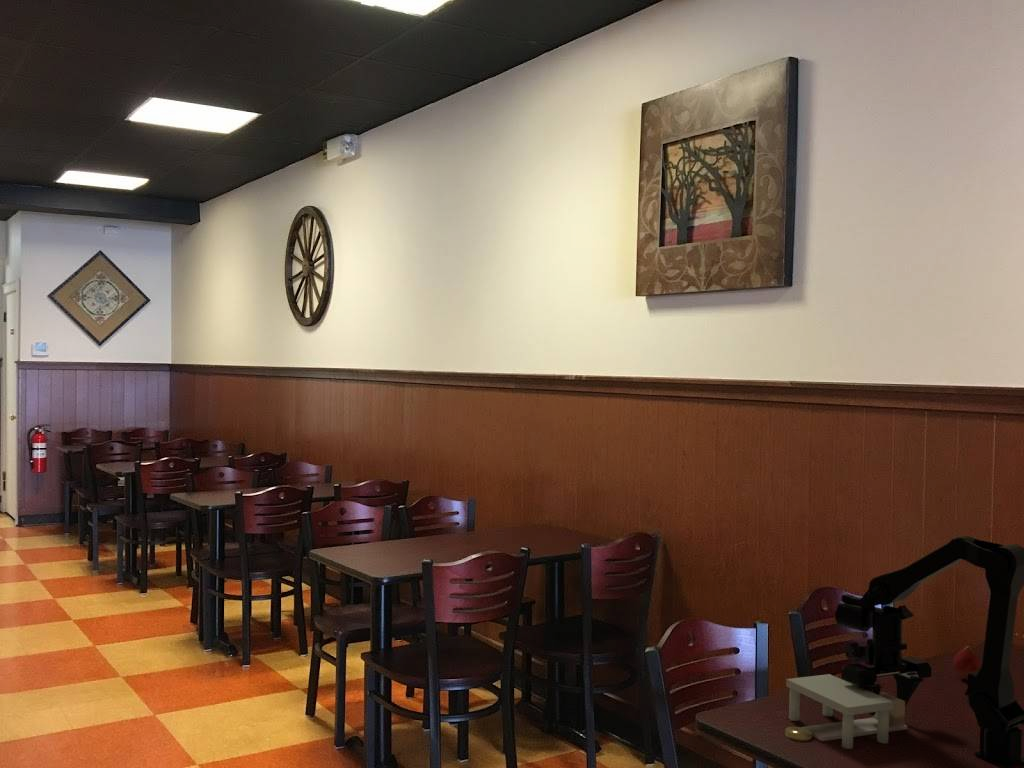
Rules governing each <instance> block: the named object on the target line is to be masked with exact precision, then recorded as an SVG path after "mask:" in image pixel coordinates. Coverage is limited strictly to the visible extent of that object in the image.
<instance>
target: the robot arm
mask: <svg viewBox="0 0 1024 768" xmlns="http://www.w3.org/2000/svg"><path fill="white" fill-rule="evenodd" d="M961 561H965V562H968V563H969V564H971V565H973V566H975V567H978V568H981V569H984V575H985V580H986V583H987V585H988V589H989V602H988V609H987V618H986V625H985V626H986V628H985V633H984V643H983V651H982V659H981V664H980V665H981V667H980V670H978V671H975V672H972V673H969V674H968V680H967V689H966V691H965V692H964V696H967V703H968V706H969V707H970V708H971V709H972V711H973V713H974V715H975V718H976V722H977V724H978V727H979V750H976V751H974V755H975V756H977V757H980V758H982V759H984V760H986V761H988V762H990V763H993V764H995V765H996V766H997V765H998V766H999V767H1003V768H1005V767H1011V766H1017V765H1022V764H1023V765H1024V757H1022V749H1023V748H1022V747H1023V746H1022V745H1023V741H1022V740H1023V730H1022V729H1020V726H1024V709H1023V707H1022V706H1021V704H1020V703H1019V702H1018V700H1016V699H1015V684H1014V680H1013V678H1012V675H1011V672H1010V665H1011V664H1010V662H1011V658H1012V657H1011V656H1012V649H1013V648H1012V646H1013V640H1014V632H1015V631H1014V630H1015V624H1016V617H1017V615H1016V614H1017V607H1018V599H1019V596H1020V595H1019V594H1020V593H1021V591H1022V589H1023V588H1024V547H1023V546H1022V545H1020V544H1017V543H1015V544H1014V543H1012V544H1011V543H1010V544H1007V545H1005V544H1002V543H997V542H993V541H992V542H991V541H987V540H982V539H978V538H975V537H973V536H969V535H963V536H962V535H961V536H957V537H954V538H952V539H950V540H949V542H948V543H945V544H944V545H941V546H940V547H939V548H937V549H935V550H933V551H932V552H930V553H928V554H926V555H924V556H922V558H920V559H918V560H916V561H914V562H912V563H911V564H909V565H907V566H906V567H903V568H900V569H897V570H893V571H890V572H887V573H883V574H881V575H878V576H875V577H872V579H871V580H870V581H869V583H868V584H869V585H868V589H867V591H866V592H865V593H864V594H863V596H862V597H858V596H855V595H854V594H849V593H846V594H842V595H841V599H840V600H841V601H839V603H838V605H837V606H836V607H837V608H836V610H835V612H834V616H835V622H836V624H837V625H838V626H839V627H844V628H848V629H850V630H851V629H852V630H855V631H856V630H857V631H861V632H864V633H866V632H868V631H869V630H870V629H872V638H868V639H867V640H866V645H863V646H862V645H861V646H859V644H858V642H850V643H849V642H848V643H845V650H844V651H845V657H846V659H848V660H852V661H853V663H851V664H845V665H844V666H842V667H841V679H844V680H847V682H849V683H851V684H854V685H858V687H861V688H863V689H865V690H868V691H870V692H872V693H875V694H877V695H879V694H880V692H881V688H882V684H881V685H878V684H877V682H876V681H878V678H879V677H881V678H882V677H887V676H893V678H894V680H895V683H896V698H898V699H901V700H903V701H905V707H907V705H908V703H909V702H910V699H912V696H913V694H914V692H915V691H916V690H917V688H918V687H919V685H920V684H921V683H923V682H924V679H926V678H932V665H930V663H929V662H928V661H925V660H922V659H920V658H917V657H914V656H907V657H906V656H905V657H903V651H904V650H907V649H908V644H907V643H904V642H903V629H904V628H903V625H904V623H903V620H909V619H911V618H914V613H913V612H912V611H911V610H909V609H908V607H907V605H905V604H903V605H899V606H898V607H896V606H891V605H892V604H895V603H898V602H903V601H904V600H905V599H907V598H908V597H909V596H910V595H912V594H913V593H914V592H915V591H916V590H917V588H918V587H919V586H920V585H922V584H923V582H925V581H928V580H930V579H931V578H933V577H934V576H936V575H938V574H939V573H942V572H943V571H945V570H947V569H949V568H951V567H953V566H955V565H956V564H958V563H960V562H961ZM890 604H891V605H890ZM879 605H880V606H883V607H876V606H879ZM859 662H863V663H864V665H863V664H860V663H859ZM866 665H868V666H872V667H868V666H866ZM868 714H869V715H870V716H872V717H873V716H874V715H875V712H870V713H868Z"/></svg>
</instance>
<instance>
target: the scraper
mask: <svg viewBox="0 0 1024 768" xmlns="http://www.w3.org/2000/svg"><path fill="white" fill-rule="evenodd" d="M879 696H882V697H884V698H886V699H889V700H891V701H893V709H891V710H889V733H891V732H897V731H903V730H904V731H905V730H908V725H906V724H905V719H906V718H905V715H906V714H905V711H906V706H905V701H903V700H901V699H898V698H897V696H893V695H891V694H889V693H887V692H884V691H880V694H879ZM842 723H843V721H838V722H830V723H829V722H828V723H823V724H822V723H820V724H816V725H807V726H801V727H802V728H806V729H808V730H810V731H811V732H812V738H813V737H814V738H815V739H817V740H819V741H820V742H825V741H834V740H839V739H841V740H842ZM877 729H878V711H877V712H875V715H874V716H872V717H867V718H859V719H854V729H853V738H855V737H861V736H862V737H863V736H868V735H869V736H870V735H875V734H876V735H877Z"/></svg>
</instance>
